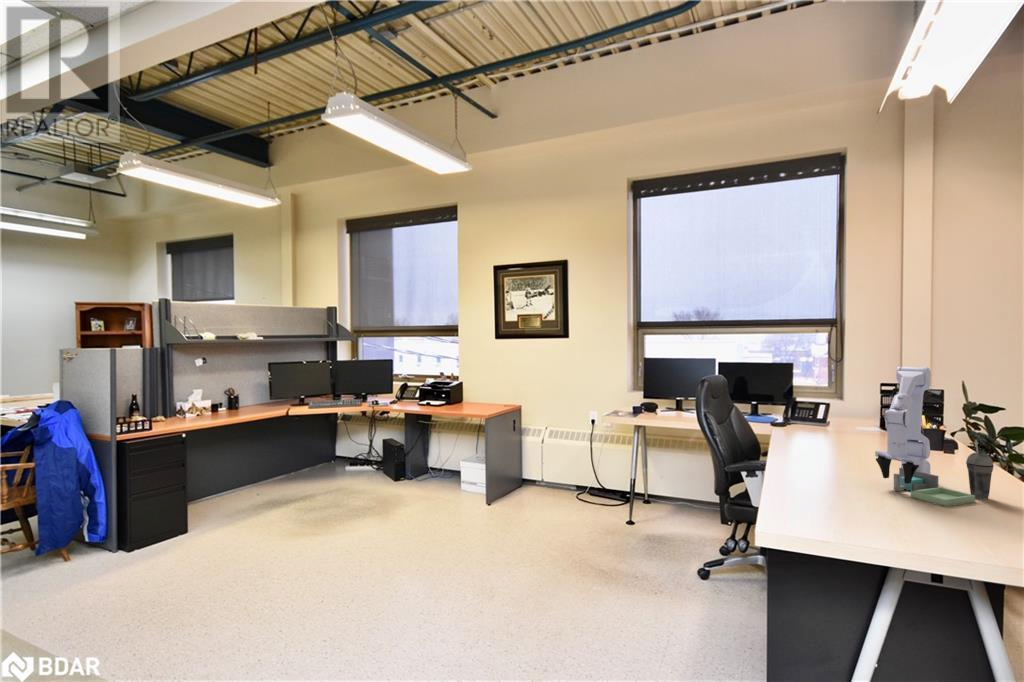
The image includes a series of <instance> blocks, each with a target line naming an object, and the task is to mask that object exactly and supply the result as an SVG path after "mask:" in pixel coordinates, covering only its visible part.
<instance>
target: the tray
mask: <svg viewBox="0 0 1024 682" xmlns="http://www.w3.org/2000/svg"><path fill="white" fill-rule="evenodd" d="M911 497H912V498H911ZM910 498H911V499H915V498H916V500H918V499H920V500H919V501H922V500H923V502H926V501H927V502H926V503H930V502H931V503H930V504H933V503H935V504H934V505H937V504H938V506H941V505H942V507H944V506H946V507H950V506H951V507H952V506H958V504H959V505H964V504H965V503H966V504H971V503H976V498H975V495H971V493H966V492H962V491H957V490H954V489H950V488H946V487H940V486H938V488H930V489H923V490H915V491H910Z"/></svg>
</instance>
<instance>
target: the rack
mask: <svg viewBox="0 0 1024 682" xmlns="http://www.w3.org/2000/svg"><path fill="white" fill-rule="evenodd" d="M898 468H899V470H898V471H899V472H898V474H900V477H904V469H903V468H901V467H898ZM913 477H917V478H921V479H923V484H917V485H913V491H915V490H923V489H930V488H938V487H939V475H935V474H931V473H930V474H927V473H923V472H918V471H915V473H914V475H913Z"/></svg>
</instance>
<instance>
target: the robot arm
mask: <svg viewBox="0 0 1024 682" xmlns="http://www.w3.org/2000/svg"><path fill="white" fill-rule="evenodd" d="M895 376H896V381H897V382H898V384H899V389H898V393H897V394H895V395H894V396H893V398H892V401H891V404H890V407H889V409H886V411H885V412H884V413H885V414H884V421H885V430H887V431H886V434H887V435H886V436H887V438H886V441H887V442H886V443H887V444H886V445H887V446H886V447H887V448H886V450H887V451H881V450H875V451H874V454H875V455H874V457H876V458H875V461H876V463H877V464H878V466H879V468H880V471H881V474H882V478H883V479H889V478H890V468H891V467H890V466H891V463H892V461H898V462H900V468H903V469H904V481H905V483H906V484H909V483H911V480H912V477H913V475H914V473H915V471H918V472H923V473H927V474H931V464H930V462H929V461H928V459H929V458H930V456H931V445H930V444H931V443H930V439H929V438H928V437H927V436H925V435H924V434H923V433H922V419H923V417H922V416H923V403H924V402H923V399H924V393H925V391H928V390H930V387H931V384H932V383H931V381H932V380H931V378H932V373H931V369H930V368H929V367H928V366H925V367H921V366H918V367H917V366H901V365H900V366H898V367H897V369H896V372H895Z"/></svg>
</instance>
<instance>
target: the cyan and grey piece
mask: <svg viewBox="0 0 1024 682" xmlns="http://www.w3.org/2000/svg"><path fill="white" fill-rule="evenodd" d="M917 484H923V479H921V478H917V477H912V480H911V483H909V484H906V483H905V481H904V477H900V474H899V473H893V491H894V490H895V491H894V492H898V491H899V492H900V491H901V490H904V489H906V490H905V491H908V490H910V491H909V492H911V491H913V485H917Z"/></svg>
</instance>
